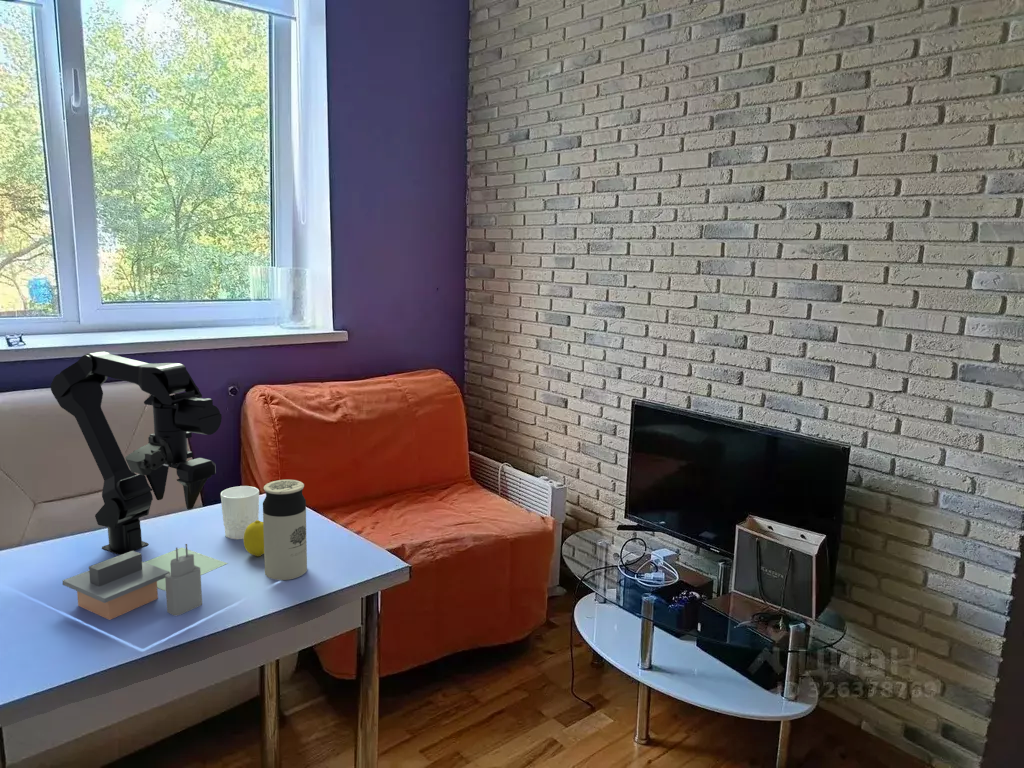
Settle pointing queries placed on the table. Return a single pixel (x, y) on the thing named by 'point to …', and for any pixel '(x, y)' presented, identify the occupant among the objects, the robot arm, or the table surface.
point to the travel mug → (284, 530)
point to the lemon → (254, 538)
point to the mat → (164, 560)
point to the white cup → (239, 509)
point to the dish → (119, 602)
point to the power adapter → (183, 585)
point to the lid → (115, 577)
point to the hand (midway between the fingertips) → (174, 504)
